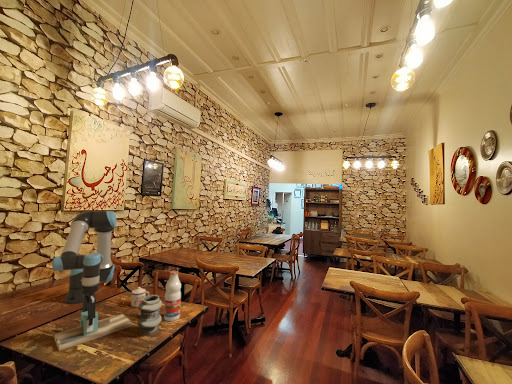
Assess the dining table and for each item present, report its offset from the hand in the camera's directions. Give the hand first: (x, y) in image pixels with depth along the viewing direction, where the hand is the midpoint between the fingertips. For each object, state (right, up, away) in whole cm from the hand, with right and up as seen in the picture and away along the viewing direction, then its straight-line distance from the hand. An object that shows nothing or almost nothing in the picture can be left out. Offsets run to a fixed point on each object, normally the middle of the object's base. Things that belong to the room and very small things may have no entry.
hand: (87, 328), depth 123 cm
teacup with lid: (+8, -6, +39) cm, 40 cm away
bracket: (0, -1, +1) cm, 2 cm away
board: (+2, -4, +3) cm, 5 cm away
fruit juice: (+37, -6, +21) cm, 43 cm away
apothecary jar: (+30, -5, +6) cm, 31 cm away
